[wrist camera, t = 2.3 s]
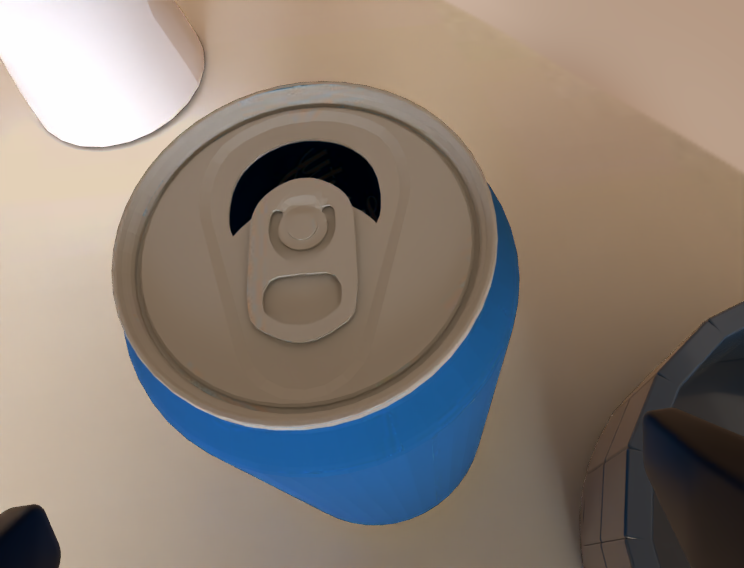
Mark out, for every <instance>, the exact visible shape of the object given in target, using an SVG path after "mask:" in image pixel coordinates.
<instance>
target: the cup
mask: <svg viewBox="0 0 744 568" xmlns="http://www.w3.org/2000/svg"><path fill="white" fill-rule="evenodd" d="M0 59H1V60H2V62H3V64H4V65H5V67H6V69H7V71H8V72H9V74H10V76H11V77H12V79H13V81H14V82H15V84H16V86H17V87H18V89H19V91H20V92H21V94H22V96H23V97H24V99H25V100H26V101H27V103H28V104H29V106H30V107H31V109H32V110H33V112H34V113H35V115H36V116H37V117H38V119H39V120H40V122H41V123H42V124H43V126H44V127H45V129H46V130H47V131H48V132H50V133H51V134H53V135H54V136H56V137H57V138H59V139H60V140H62V141H65V142H69V143H72V144H76V145H79V146H92V147H106V146H111V145H116V144H122V143H127V142H130V141H132V140H135V139H137V138H140V137H142V136H145V135H147V134H150V133H152V132H153V131H155V130H156V129H158V128H159V127H161V126H162V125H164V124H165V123H167V122H169V121H170V120H172V119H173V118H174V117H175V116H176V115H177V114H178V113H179V112H180V111H181V110H182V109H183V108H184V107H185V106H186V105H187V104H188V103H189V101H190V99H191V98H192V96H193V94H194V93H195V91H196V90H197V88H198V86H199V84H200V81H201V77H202V74H203V70H204V50H203V48H202V45H201V43H200V41H199V38H198V36H197V34H196V33H195V31H194V30H193V28H192V26H191V25H190V23H189V21H188V20H187V18H186V17H185V15H184V13H183V12H182V11H181V9H180V8H179V6H178V5H177V4H176V2H175V1H174V0H0Z"/></svg>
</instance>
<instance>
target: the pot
mask: <svg viewBox="0 0 744 568" xmlns="http://www.w3.org/2000/svg"><path fill="white" fill-rule="evenodd" d="M665 408H676V409H679V410H681V411H684V412H686V413H688V414H691V415H693V416H696V417H698V418H700V419H703V420H705V421H708V422H710V423H712V424H715V425H717V426H720V427H722V428H725V429H727V430H729V431H732V432H734V433H737V434H739V435H741V436H744V301H743V302H741V303H739V304H737V305H735V306H733V307H731V308H729V309H727V310H725V311H722V312H720V313H718V314H716V315H714V316H712V317H710V318H708V319H707V320H706V321H704V322H703V323H702V324H701V325H700V326H699V327H698V328H697V329H696V330H695V331H694V332H693V333H692V334H691V335H690V336H689V337H687V338H686V339H685V340H684V341H683V342H682V343H681V344H680V345H679V346H678V347H677V348H676V349H675V350H674V351H673V352H672V353H671V354H670V355H669V356H668V357H666V358H665V359H664V360H663V361H662V362H661V363H660V364H659V365H658V366H657V367H656V368H655V369H654V370H653V371H652V372H651V373H650V374H649V375H648V376H647V377H646V378H645V379H644V380H643V381H642V382H641V383H640V384H639V386H638V387H637V388H636V389H635V390H634V391H633V392H632V393H631V394H630V395H629V396H628V397H627V398H626V399H625V400H624V401H623V403H622V404H621V405H620V406H619V407H618V408H617V409H616V410H615V411H614V412H613V413H612V416H611V417H610V418H609V421H608V423H607V425H606V426H605V428H604V430H603V431H602V433H601V435H600V437H599V438H598V441H597V443H596V446H595V448H594V451H593V453H592V456H591V458H590V461H589V464H588V468H587V472H586V476H585V481H584V485H583V489H582V499H581V509H580V543H581V552H582V559H583V566H584V568H691V566H690V564H689V562H688V560H687V558H686V556H685V554H684V552H683V550H682V547H681V545H680V543H679V541H678V539H677V537H676V535H675V533H674V531H673V529H672V527H671V524H670V522H669V520H668V518H667V516H666V514H665V512H664V510H663V508H662V506H661V504H660V501H659V499H658V497H657V495H656V493H655V491H654V489H653V487H652V485H651V483H650V481H649V478H648V476H647V474H646V471H645V467H644V462H643V417H644V414H645V413H646V412H648V411H652V410H659V409H665Z"/></svg>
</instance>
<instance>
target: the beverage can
mask: <svg viewBox="0 0 744 568" xmlns="http://www.w3.org/2000/svg"><path fill="white" fill-rule="evenodd" d="M112 284H113V295H114V300H115V304H116V309H117V313H118V317H119V319H120V322H121V325H122V327H123V330H124V334H125V339H126V343H127V347H128V352H129V356H130V359H131V361H132V364H133V366H134V369H135V371H136V374H137V376H138V379H139V381H140V382H141V384H142V386H143V387H144V389H145V391H146V393H147V394H148V396H149V398H150V399H151V401H152V403H153V404H154V405H155V406H156V408H157V409H158V410H159V411H160V413H161V414H162V415H163V416H164V418H165V419H166V420H167V421H168V422H169V423H170V424H171V425H172V426H173V427H174V428H175V429H176V430H177V431H179V432H180V433H181V434H182V435H183V436H184V437H185V438H186V439H188V440H189V441H191V442H192V443H194V444H195V445H197V446H198V447H200V448H201V449H203V450H204V451H206V452H207V453H209V454H211V455H213V456H215V457H217V458H218V459H220V460H222V461H224V462H226V463H228V464H230V465H232V466H234V467H236V468H238V469H240V470H242V471H244V472H246V473H248V474H250V475H252V476H254V477H256V478H258V479H260V480H262V481H264V482H266V483H268V484H270V485H272V486H274V487H276V488H278V489H280V490H281V491H283V492H285V493H287V494H289V495H291V496H293V497H295V498H297V499H299V500H301V501H303V502H305V503H307V504H309V505H311V506H313V507H315V508H317V509H319V510H321V511H323V512H325V513H327V514H329V515H331V516H333V517H336V518H338V519H341V520H344V521H348V522H351V523H356V524H363V525H386V524H394V523H399V522H402V521H406V520H409V519H412V518H414V517H417V516H419V515H421V514H424V513H425V512H427V511H429V510H430V509H432V508H433V507H435V506H437V505H438V504H439V503H440V502H442V501H443V500H444V499H445V498H447V497H448V496H449V495H450V494H451V493H452V491H453V490H454V489H455V488H456V487H457V486H458V485H459V484H460V482H461V481H462V479H463V478H464V476H465V475H466V474H467V472H468V470H469V468H470V466H471V464H472V462H473V460H474V457H475V454H476V452H477V449H478V446H479V442H480V439H481V435H482V432H483V429H484V425H485V422H486V418H487V415H488V412H489V408H490V405H491V401H492V398H493V394H494V391H495V388H496V384H497V381H498V377H499V374H500V371H501V367H502V364H503V360H504V357H505V353H506V350H507V347H508V343H509V340H510V336H511V333H512V329H513V325H514V320H515V316H516V311H517V306H518V296H519V267H518V256H517V251H516V247H515V243H514V239H513V235H512V231H511V227H510V225H509V222H508V220H507V218H506V215H505V213H504V210H503V208H502V206H501V204H500V202H499V201H498V199H497V197H496V195H495V194H494V192H493V190H492V189H491V187H490V186H489V184H488V183H487V182H486V179H485V177H484V174H483V172H482V170H481V168H480V166H479V165H478V163H477V161H476V160H475V158H474V156H473V154H472V153H471V151H470V150H469V149H468V148H467V146H466V145H465V144H464V143H463V141H462V140H461V139H460V138H459V136H458V135H457V134H456V133H454V132H453V131H452V130H451V129H450V128H449V127H448V126H447V125H446V124H445V123H444V122H443V121H441V120H440V119H439V118H437V117H436V116H435V115H433V114H432V113H430V112H429V111H428V110H426V109H425V108H423V107H421V106H419V105H417V104H415V103H414V102H412V101H410V100H408V99H406V98H403V97H401V96H398V95H396V94H393V93H391V92H388V91H385V90H381V89H378V88H374V87H370V86H366V85H360V84H353V83H347V82H329V81H318V82H302V83H295V84H289V85H283V86H277V87H273V88H270V89H266V90H262V91H258V92H255V93H253V94H250V95H247V96H245V97H242V98H239V99H237V100H234V101H232V102H230V103H228V104H226V105H224V106H222V107H220V108H218V109H216V110H215V111H213V112H211V113H210V114H208V115H207V116H205V117H203V118H202V119H200V120H198V121H197V122H196V123H194V124H193V125H192V126H190V127H189V128H188V129H187V130H185V131H184V132H183V133H181V134H180V135H179V136H178V137H177V138H176V139H175V140H174V141H172V142H171V143H170V144H169V145H168V146H167V147H166V148H165V149H164V150H163V151H162V152H161V153H160V155H159V156H158V157H157V158H156V159H155V161H154V162H153V163H152V164H151V165H150V167H149V168H148V169H147V171H146V172H145V174H144V175H143V177H142V178H141V180H140V181H139V183H138V184H137V186H136V187H135V189H134V191H133V193H132V195H131V197H130V199H129V201H128V203H127V205H126V207H125V210H124V213H123V215H122V218H121V221H120V224H119V226H118V230H117V235H116V239H115V244H114V249H113V260H112Z"/></svg>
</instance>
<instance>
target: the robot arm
mask: <svg viewBox="0 0 744 568" xmlns="http://www.w3.org/2000/svg"><path fill="white" fill-rule="evenodd" d="M643 462H644V467H645V471H646V474H647V476H648V478H649V481H650V483H651V485H652V487H653V489H654V491H655V493H656V495H657V497H658V499H659V501H660V504H661V506H662V508H663V510H664V512H665V514H666V516H667V518H668V520H669V522H670V524H671V527H672V529H673V531H674V533H675V535H676V537H677V539H678V541H679V543H680V545H681V547H682V550H683V552H684V554H685V556H686V558H687V560H688V562H689V564H690V566H691V568H744V436H741V435H739V434H737V433H734V432H732V431H729V430H727V429H725V428H722V427H720V426H717V425H715V424H712V423H710V422H708V421H705V420H703V419H700V418H698V417H696V416H693V415H691V414H688V413H686V412H684V411H681V410H679V409H676V408H665V409H659V410H652V411H648V412H646V413H645V414H644V417H643ZM60 558H61V551H60V546H59V543H58V541H57V539H56V536H55V534H54V532H53V529H52V527H51V525H50V522H49V520H48V518H47V515H46V513H45V511H44V509H43V508H42V507H41V506H39V505H36V504H33V505H27V506H20V507H13V508H10V509H8V510H6V511H4V512H3V513H1V514H0V568H59V564H60Z"/></svg>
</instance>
